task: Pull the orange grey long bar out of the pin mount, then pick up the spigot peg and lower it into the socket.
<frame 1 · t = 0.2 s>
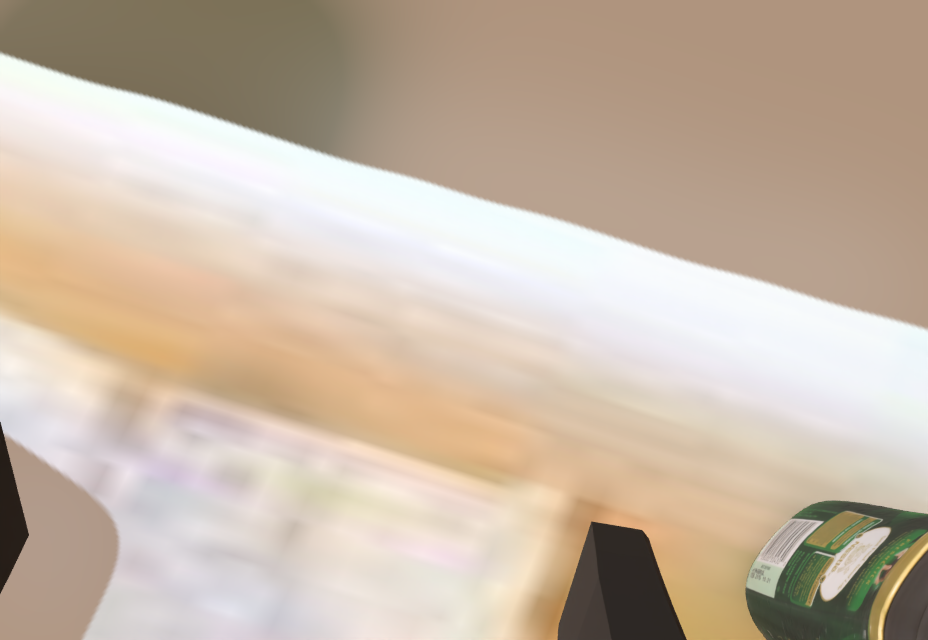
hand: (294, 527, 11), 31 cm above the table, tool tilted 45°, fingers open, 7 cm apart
coffee jar: (847, 605, 39), on the table
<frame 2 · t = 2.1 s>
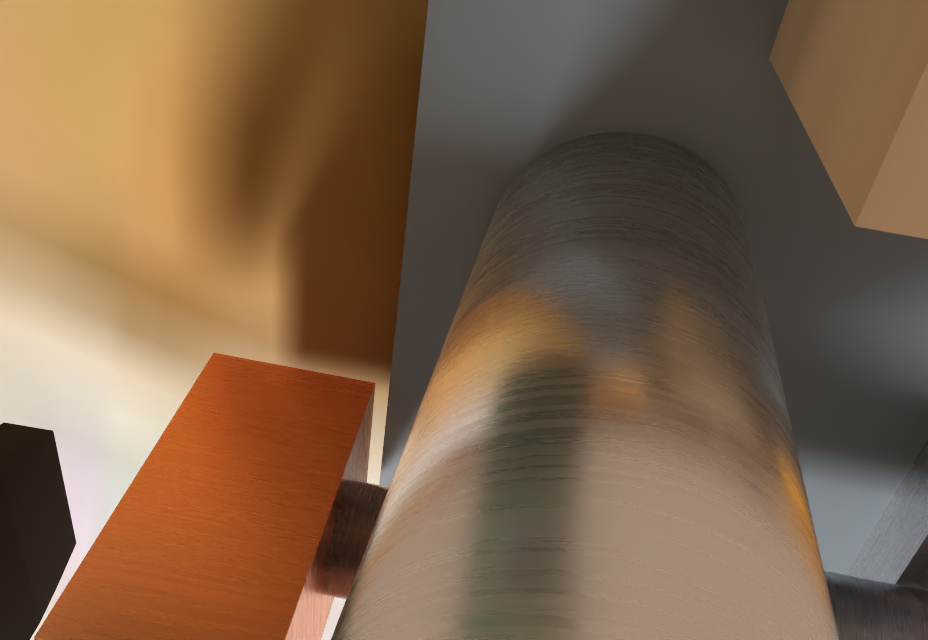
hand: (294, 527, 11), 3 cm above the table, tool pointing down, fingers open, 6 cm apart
spigot peg: (614, 257, 10), point 1 cm above the table, touching board, gripper
orange grey long bar: (671, 636, 10), point 4 cm above the table, slide at 1.3 cm, touching gripper
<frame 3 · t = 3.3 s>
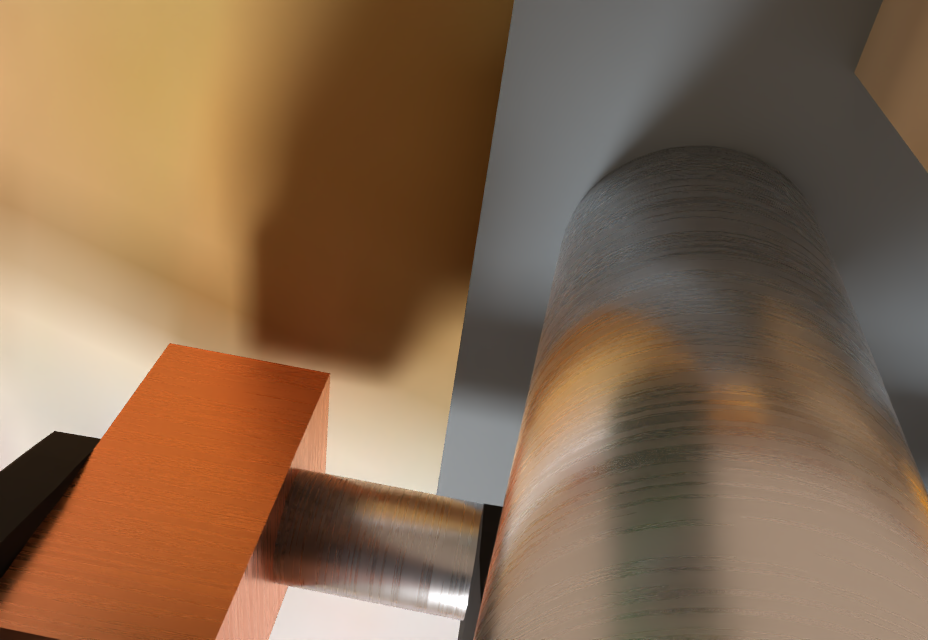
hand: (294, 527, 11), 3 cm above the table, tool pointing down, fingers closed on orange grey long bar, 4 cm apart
spigot peg: (687, 270, 10), point 1 cm above the table, touching board
orange grey long bar: (618, 624, 10), point 3 cm above the table, slide at 2.7 cm, touching gripper
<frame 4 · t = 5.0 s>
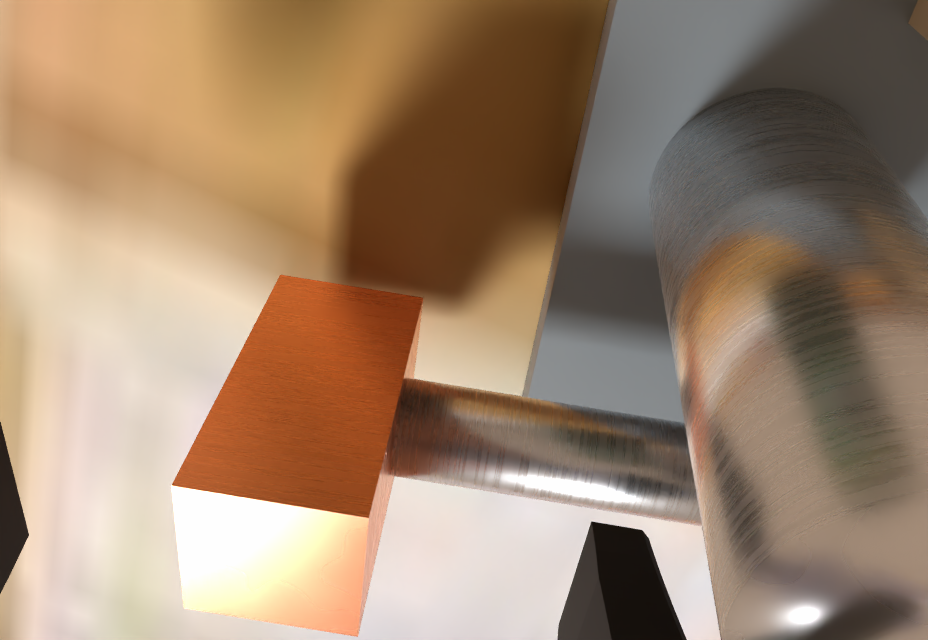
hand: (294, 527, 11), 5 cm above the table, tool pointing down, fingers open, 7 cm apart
spigot peg: (759, 194, 12), point 1 cm above the table, touching board
orange grey long bar: (687, 498, 12), point 4 cm above the table, slide at 3.0 cm
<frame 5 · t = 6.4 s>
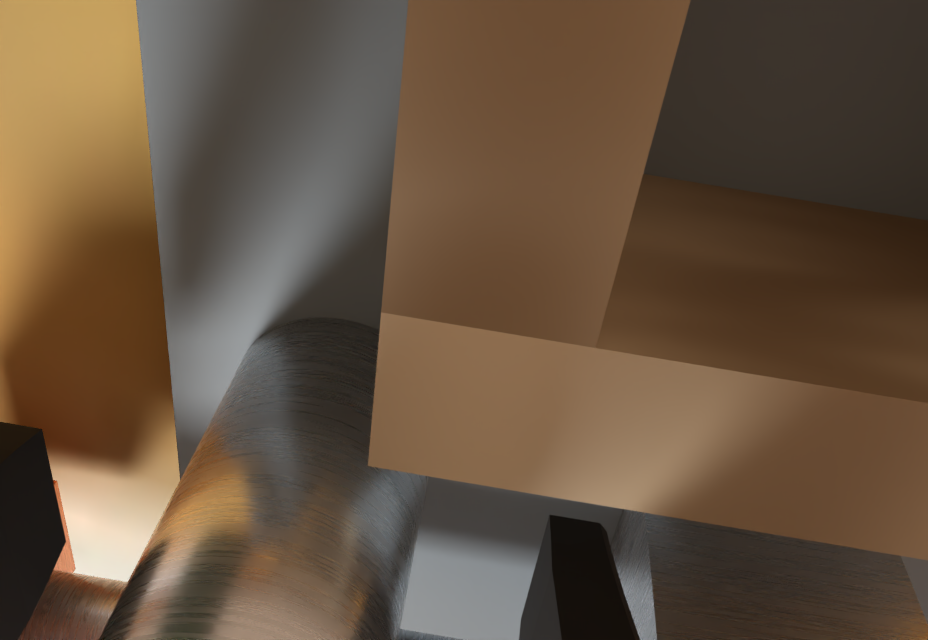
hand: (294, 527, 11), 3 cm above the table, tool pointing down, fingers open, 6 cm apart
spigot peg: (338, 401, 13), point 1 cm above the table, touching board
pin mount: (693, 618, 14), resting on board
socket: (848, 3, 9), resting on board
board: (624, 279, 12), on the table
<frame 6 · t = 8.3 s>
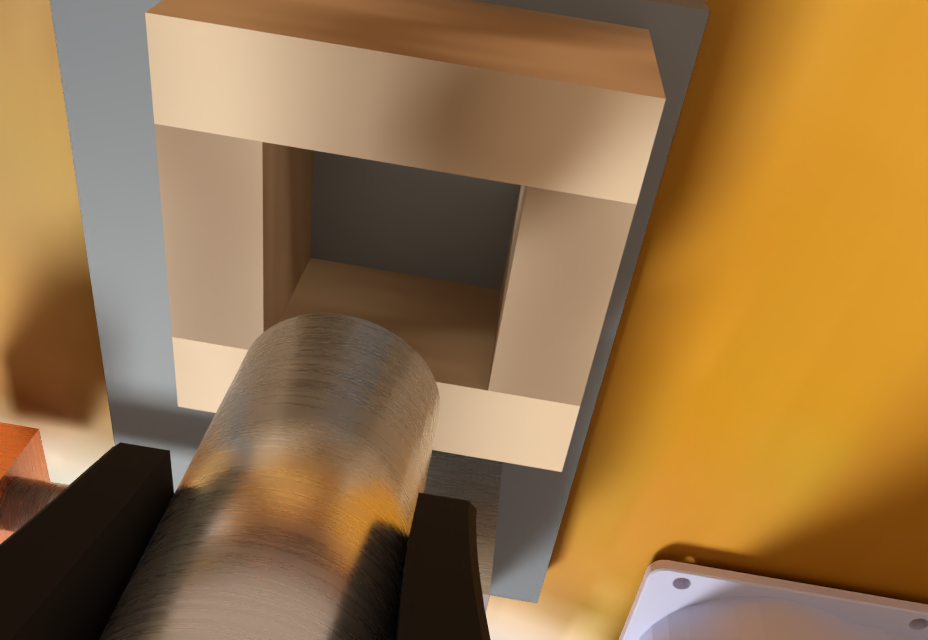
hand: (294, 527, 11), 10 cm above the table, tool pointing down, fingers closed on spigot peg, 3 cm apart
spigot peg: (340, 396, 13), point 8 cm above the table, touching gripper
pin mount: (424, 514, 24), resting on board
orange grey long bar: (158, 544, 22), point 3 cm above the table, slide at 3.0 cm
socket: (414, 187, 18), resting on board
board: (355, 313, 21), on the table
when the fingers open (5 cm above the table, at t = 9.8 s): spigot peg drops 2 cm, resting on board.
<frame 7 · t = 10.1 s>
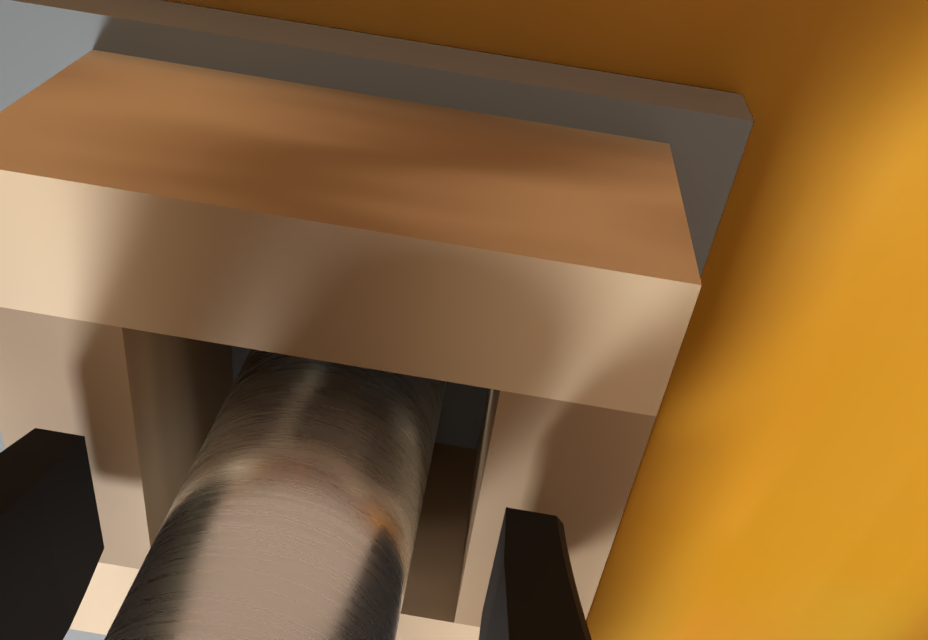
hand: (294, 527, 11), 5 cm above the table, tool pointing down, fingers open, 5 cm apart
spigot peg: (362, 335, 14), point 1 cm above the table, touching board
socket: (362, 330, 14), resting on board
board: (299, 460, 17), on the table
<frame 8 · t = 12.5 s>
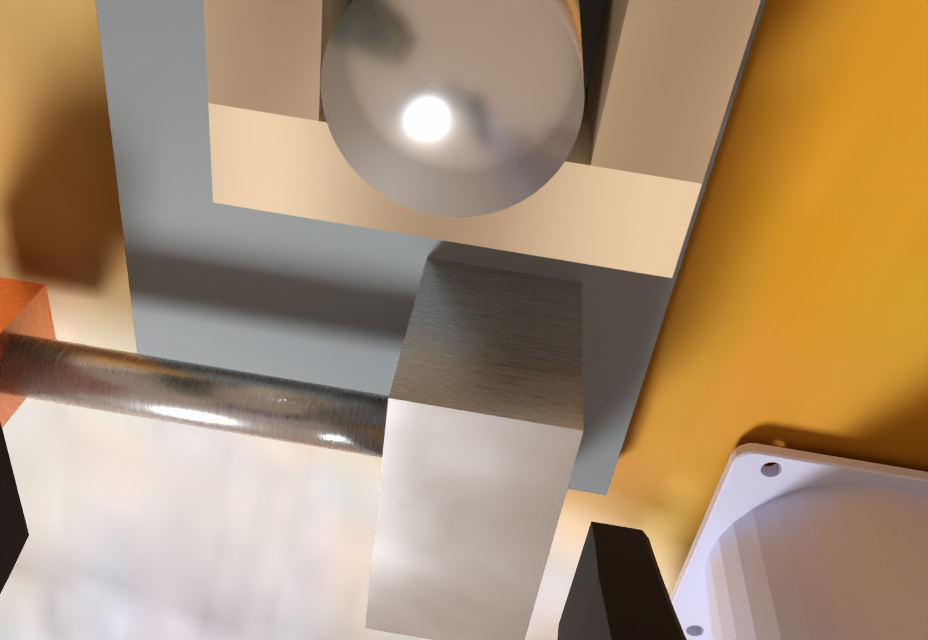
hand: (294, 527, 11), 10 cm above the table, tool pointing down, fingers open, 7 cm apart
pin mount: (482, 386, 21), resting on board
orange grey long bar: (183, 408, 19), point 4 cm above the table, slide at 3.0 cm
board: (410, 136, 19), on the table
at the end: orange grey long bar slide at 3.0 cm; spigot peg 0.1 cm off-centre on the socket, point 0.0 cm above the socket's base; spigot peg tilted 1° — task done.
